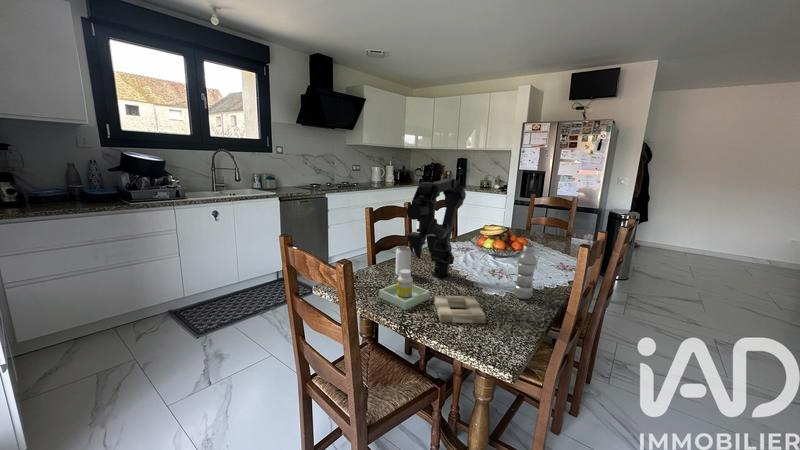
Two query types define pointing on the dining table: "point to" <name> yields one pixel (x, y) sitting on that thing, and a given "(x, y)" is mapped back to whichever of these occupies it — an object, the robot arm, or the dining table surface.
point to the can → (403, 259)
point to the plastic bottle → (525, 273)
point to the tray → (417, 298)
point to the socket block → (455, 315)
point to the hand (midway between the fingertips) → (424, 255)
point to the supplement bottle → (405, 284)
